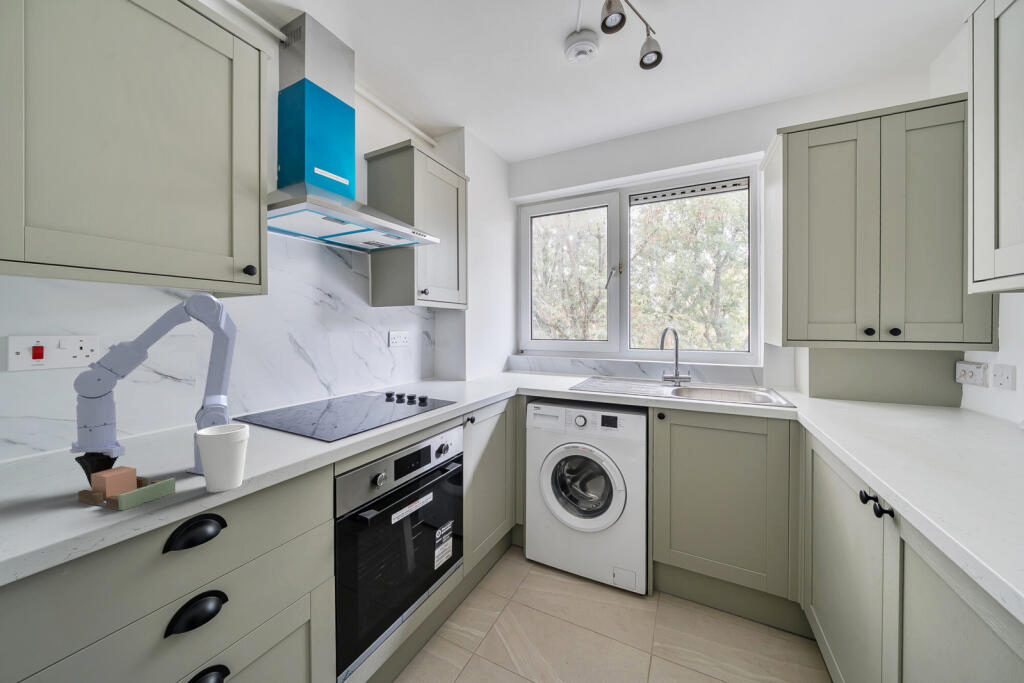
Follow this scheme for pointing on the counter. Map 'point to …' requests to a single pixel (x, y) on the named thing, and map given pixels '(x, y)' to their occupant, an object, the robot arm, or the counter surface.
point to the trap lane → (130, 494)
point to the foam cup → (223, 455)
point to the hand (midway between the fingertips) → (99, 485)
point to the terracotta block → (114, 481)
